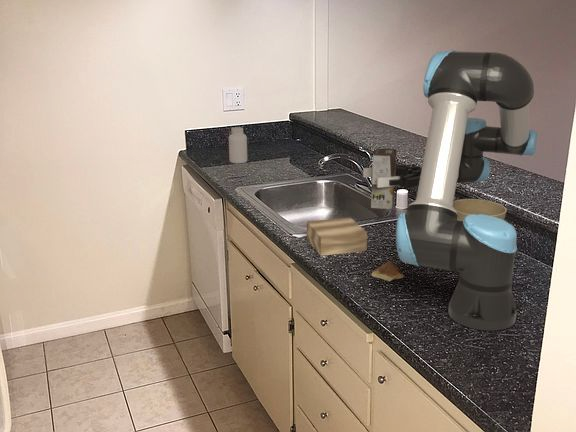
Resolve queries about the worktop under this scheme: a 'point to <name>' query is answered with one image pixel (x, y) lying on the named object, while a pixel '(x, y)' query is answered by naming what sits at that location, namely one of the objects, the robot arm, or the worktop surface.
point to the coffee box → (383, 168)
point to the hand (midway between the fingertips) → (370, 177)
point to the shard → (388, 272)
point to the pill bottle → (237, 146)
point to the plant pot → (478, 208)
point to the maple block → (336, 236)
